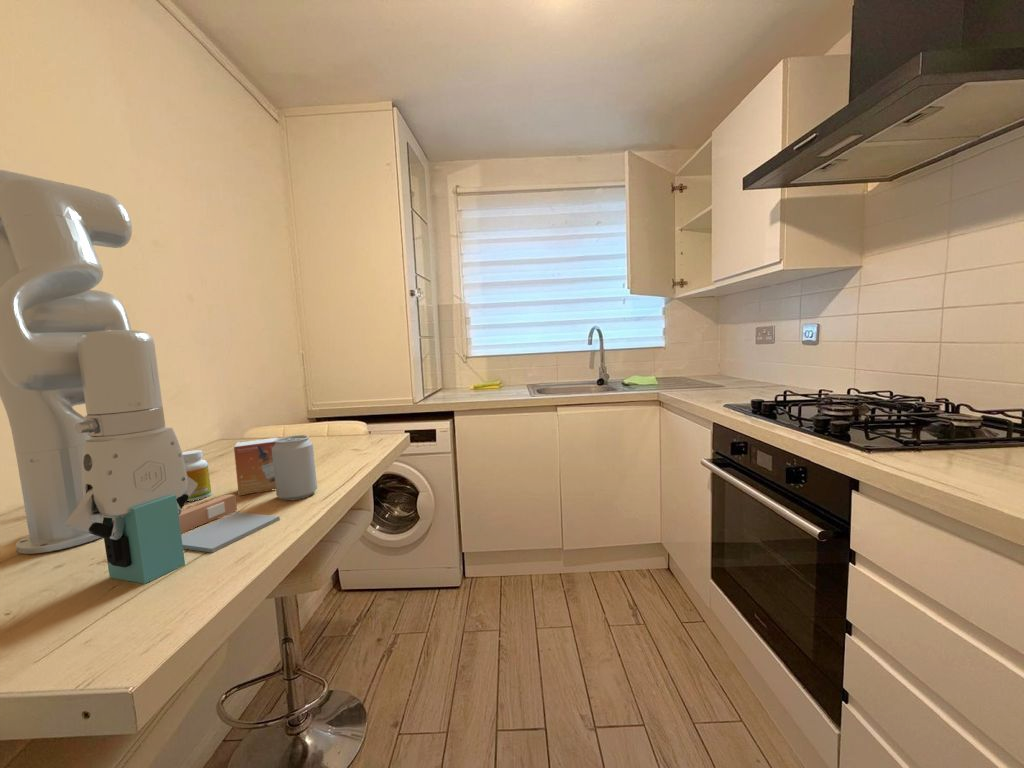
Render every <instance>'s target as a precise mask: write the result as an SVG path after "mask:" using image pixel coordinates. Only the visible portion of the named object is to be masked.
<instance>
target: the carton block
mask: <svg viewBox="0 0 1024 768" xmlns="http://www.w3.org/2000/svg"><path fill="white" fill-rule="evenodd" d="M100 516H102V514H101V515H100ZM123 536H127V537H128V540H129V547H130V554H131V561H132V564H131V565H130V566H128V567H126V568H125V567H119V566H113V565H111V563H109V562H108V560H107V559H106V561H107V568H108V577H109V578H111V579H116V580H121V581H127V582H131V583H132V582H133V583H138V584H144V585H145V584H148V583H150V582H151V581H154V580H156V579H158V578H160V577H162V576H165V575H166V574H168V573H170V572H172V571H174V570H176V569H178V568H180V567H183V566H185V565H186V559H185V553H184V549H183V545H182V538H181V536H182V534H181V530H180V523H179V515H178V508H177V500H176V495H171V496H168V497H165V498H162V499H159V500H156V501H152V502H149V503H146V504H143V505H140V506H137V507H134V508H131V513H130V514H129V515H125V525H124V530H123ZM153 579H154V580H153ZM149 581H150V582H149Z"/></svg>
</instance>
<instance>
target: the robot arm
mask: <svg viewBox="0 0 1024 768" xmlns="http://www.w3.org/2000/svg"><path fill="white" fill-rule="evenodd" d="M132 233H133V227H132V221H131V218H130V215H129V213H128V211H127V209H126V207H125V206H124V205H123V204H122V203H121V201H120V200H119V199H118V198H116V197H114V196H112V195H110V194H108V193H105V192H104V193H103V192H99V191H96V190H94V189H90V188H86V187H82V186H78V185H73V184H68V183H64V182H59V181H54V180H50V179H44V178H40V177H36V176H31V175H27V174H24V173H19V172H15V171H14V172H13V171H9V170H5V169H0V400H1V401H2V404H3V407H4V409H5V412H6V417H7V419H8V423H9V426H10V430H11V434H12V440H13V446H14V451H15V456H16V457H15V459H16V462H17V464H16V465H17V469H18V475H19V480H20V486H21V493H22V498H23V504H24V505H23V506H24V510H25V517H26V522H27V528H28V535H27V536H25V537H23V538H21V539H19V540H18V541H17V542H16V543H15V549H16V552H17V553H19V554H24V555H30V554H31V555H33V554H42V553H43V554H44V553H50V552H54V551H60V550H65V549H68V548H73V547H76V546H79V545H83V544H87V543H89V542H93V541H95V540H99V539H103V542H104V547H105V555H106V561H107V560H108V562H109V563H111V565H113V566H119V567H125V568H126V567H128V566H130V565H131V564H132V561H131V554H130V547H129V540H128V537H127V536H123V530H124V525H125V515H129V514H130V513H131V508H134V507H137V506H140V505H143V504H146V503H149V502H152V501H156V500H159V499H162V498H165V497H168V496H171V495H176V500H177V508H178V515H179V516H180V515H181V513H182V511H183V507H184V506H185V504H186V503H187V500H188V497H189V496H190V495H191V494H192V492H193V491H194V490H195V489H196V487H197V485H198V484H197V483H196V482H195V481H194V480H192V479H191V478H190V477H188V476H187V472H186V467H185V463H184V459H183V455H182V452H183V451H182V448H181V446H180V442H179V440H178V438H177V435H176V433H175V431H174V429H173V427H166V421H165V414H164V406H163V401H162V398H163V397H162V391H161V390H162V389H161V384H160V377H159V376H160V375H159V368H158V360H157V352H156V345H155V341H154V338H153V337H152V336H151V335H150V334H149V333H147V332H146V331H141V330H132V326H131V323H130V319H129V317H128V314H127V311H126V309H125V306H124V305H123V303H122V302H121V301H120V300H119V299H118V298H117V297H116V296H115V295H113V294H111V293H109V292H106V291H102V290H94V289H93V288H95V287H96V286H98V285H99V284H100V283H101V282H102V280H103V277H104V271H103V267H102V264H101V262H100V260H99V258H98V255H97V252H96V250H95V247H94V246H96V247H97V246H98V247H104V248H105V247H106V248H113V249H117V248H118V249H121V248H123V247H125V246H126V245H128V244H129V242H130V240H131V239H132ZM78 405H85V410H86V415H85V416H84V415H82V414H80V413H79V412H78V411H76V410H75V409H74V408H73V407H75V406H78ZM101 514H102V516H100V515H101ZM108 562H107V563H108Z"/></svg>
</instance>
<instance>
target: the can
mask: <svg viewBox="0 0 1024 768" xmlns="http://www.w3.org/2000/svg"><path fill="white" fill-rule="evenodd" d="M309 437H310V436H309V435H305V434H303V435H302V434H301V435H299V434H298V435H291V436H289V435H288V436H284V437H280V438H278V439H277V440H275V441H274V442H275V445H274V446H273V447H272V449H271V450H272V459H273V468H274V477H275V486H276V490H275V492H276V494H275V495H276V497H278V498H280V499H281V500H282V499H283V500H282V501H286V500H291V501H297V499H298V500H302V499H305V497H306V498H308V497H311V496H312V495H314V493H315V491H316V490H318V484H317V483H318V480H317V472H316V462H315V461H316V460H315V451H314V442H313V441H311V439H309ZM301 498H302V499H301Z"/></svg>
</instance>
